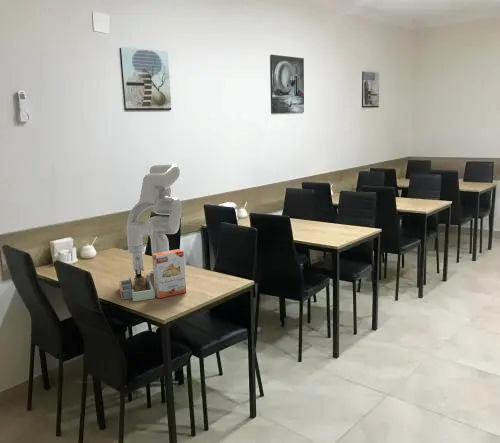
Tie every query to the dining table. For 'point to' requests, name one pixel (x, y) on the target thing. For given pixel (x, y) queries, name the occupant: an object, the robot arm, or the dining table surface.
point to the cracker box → (169, 273)
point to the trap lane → (129, 293)
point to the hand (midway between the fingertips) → (139, 283)
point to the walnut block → (139, 283)
